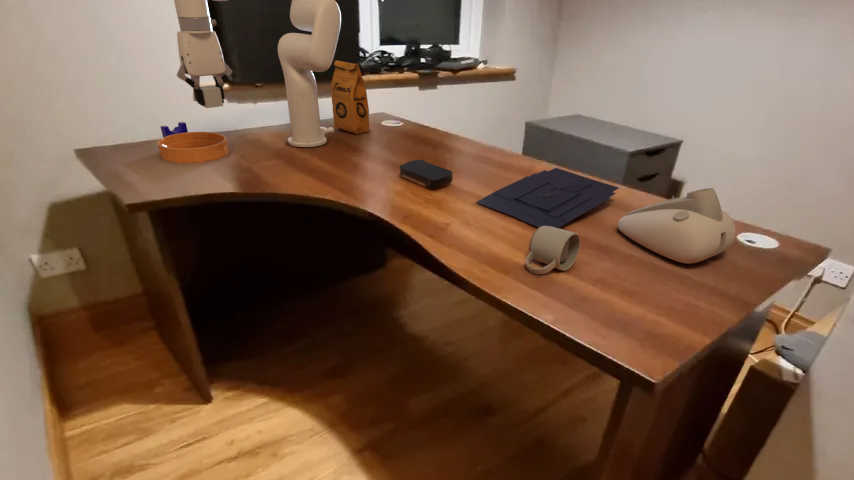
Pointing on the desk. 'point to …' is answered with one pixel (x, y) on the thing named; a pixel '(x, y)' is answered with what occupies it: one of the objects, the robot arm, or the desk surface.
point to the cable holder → (179, 129)
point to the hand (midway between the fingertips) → (211, 102)
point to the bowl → (193, 147)
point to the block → (212, 96)
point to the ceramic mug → (553, 249)
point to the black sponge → (426, 174)
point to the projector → (682, 227)
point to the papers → (549, 197)
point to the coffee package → (349, 98)
